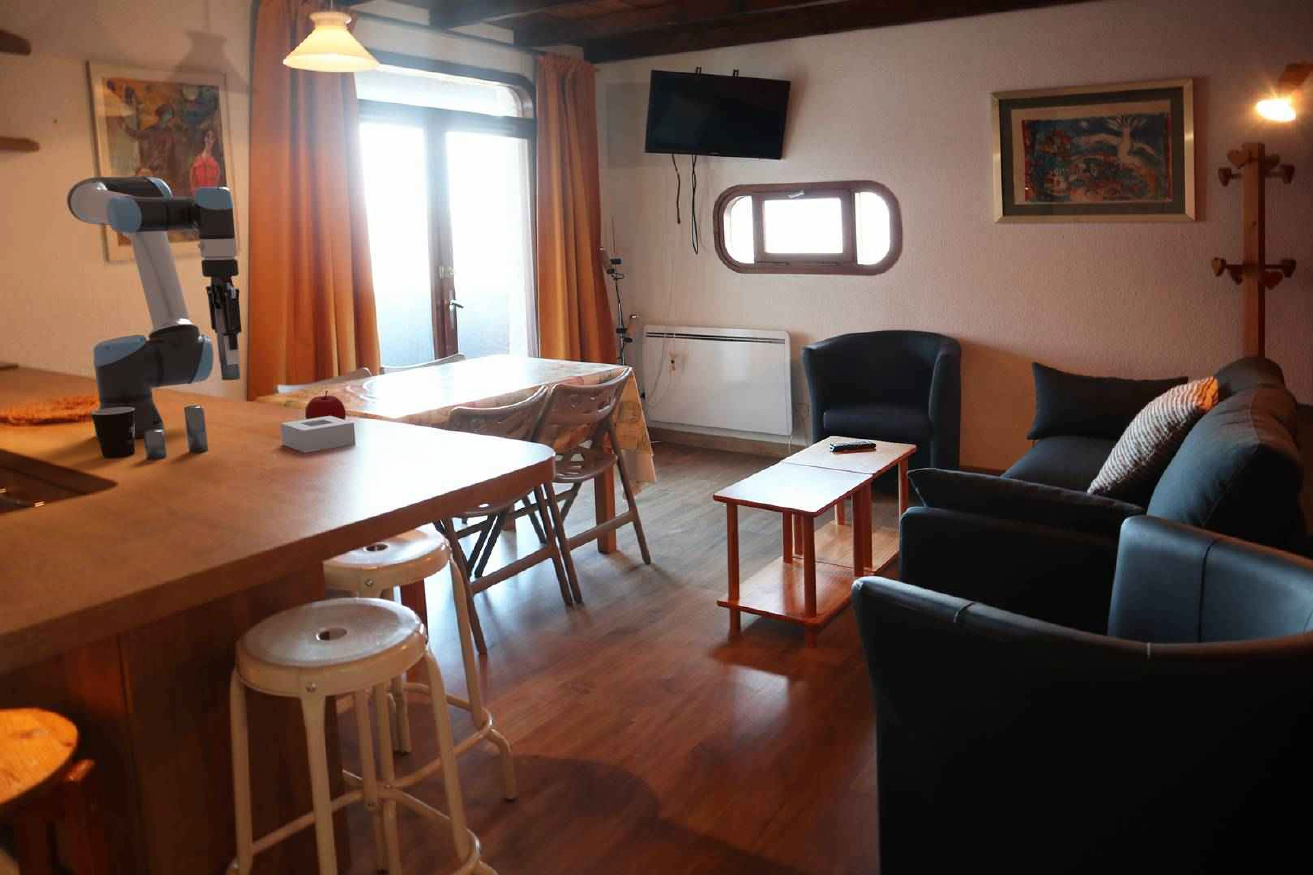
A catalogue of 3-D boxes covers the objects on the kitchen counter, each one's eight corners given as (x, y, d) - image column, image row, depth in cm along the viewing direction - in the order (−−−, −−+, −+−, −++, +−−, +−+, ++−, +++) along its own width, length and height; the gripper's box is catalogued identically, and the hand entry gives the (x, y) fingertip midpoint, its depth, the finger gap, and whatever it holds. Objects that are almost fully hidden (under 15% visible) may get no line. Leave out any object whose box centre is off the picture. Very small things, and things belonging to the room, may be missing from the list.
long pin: (219, 378, 244) (211, 308, 241) (236, 376, 247) (229, 307, 243) (225, 380, 241) (218, 309, 238) (243, 378, 244) (236, 308, 241)
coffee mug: (122, 460, 234) (117, 414, 232) (88, 459, 235) (82, 414, 233) (157, 448, 245) (152, 405, 243) (123, 447, 247) (118, 404, 244)
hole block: (282, 444, 246) (280, 423, 245) (332, 436, 254) (330, 415, 253) (305, 452, 237) (303, 430, 236) (355, 444, 245) (353, 422, 244)
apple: (341, 425, 267) (337, 385, 264) (351, 431, 259) (348, 390, 257) (303, 430, 262) (299, 389, 260) (312, 436, 254) (308, 395, 252)
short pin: (144, 457, 236) (140, 431, 234) (163, 454, 238) (160, 428, 237) (150, 460, 233) (146, 433, 231) (169, 457, 235) (166, 430, 234)
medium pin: (186, 450, 241) (181, 407, 239) (204, 448, 244) (199, 404, 242) (192, 453, 239) (187, 409, 236) (211, 450, 241) (206, 406, 239)
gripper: (188, 257, 242) (199, 360, 247) (216, 260, 230) (227, 369, 235) (221, 256, 247) (231, 357, 252) (251, 259, 234) (261, 365, 240)
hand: (229, 362), depth 243 cm, fingers closed on long pin, 4 cm apart
